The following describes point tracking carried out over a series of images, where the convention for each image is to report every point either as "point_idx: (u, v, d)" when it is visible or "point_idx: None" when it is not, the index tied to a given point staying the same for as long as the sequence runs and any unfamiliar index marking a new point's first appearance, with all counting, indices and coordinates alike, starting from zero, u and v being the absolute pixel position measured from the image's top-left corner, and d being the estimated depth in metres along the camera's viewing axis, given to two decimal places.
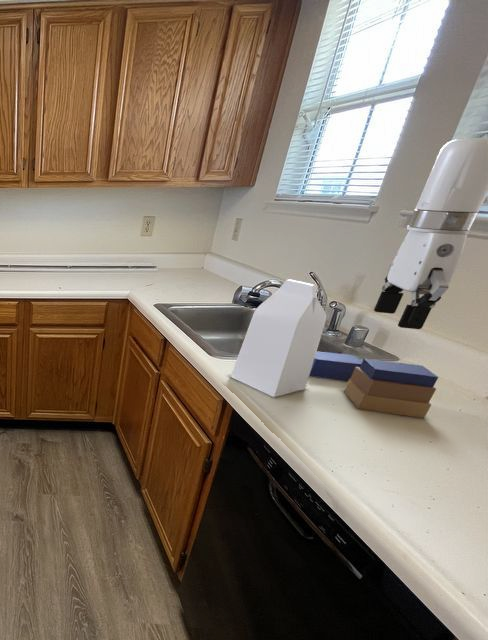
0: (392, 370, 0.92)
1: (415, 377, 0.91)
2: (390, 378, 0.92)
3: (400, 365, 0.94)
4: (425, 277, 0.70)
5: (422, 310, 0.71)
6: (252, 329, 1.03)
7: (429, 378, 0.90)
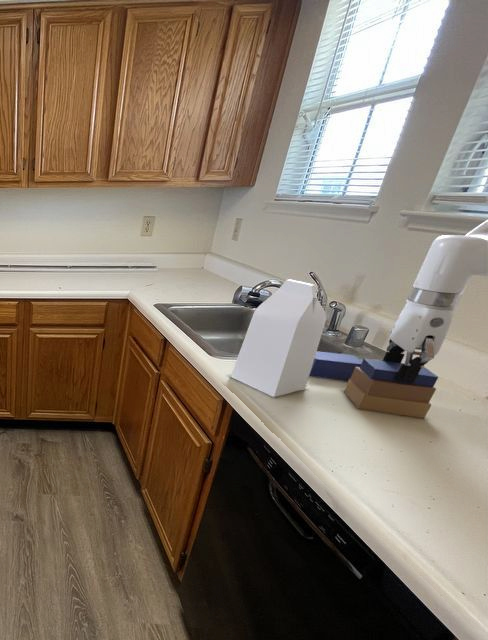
0: (392, 370, 0.92)
1: None
2: (390, 377, 0.92)
3: (400, 365, 0.94)
4: (421, 342, 0.86)
5: (414, 369, 0.89)
6: (252, 329, 1.03)
7: (429, 378, 0.90)
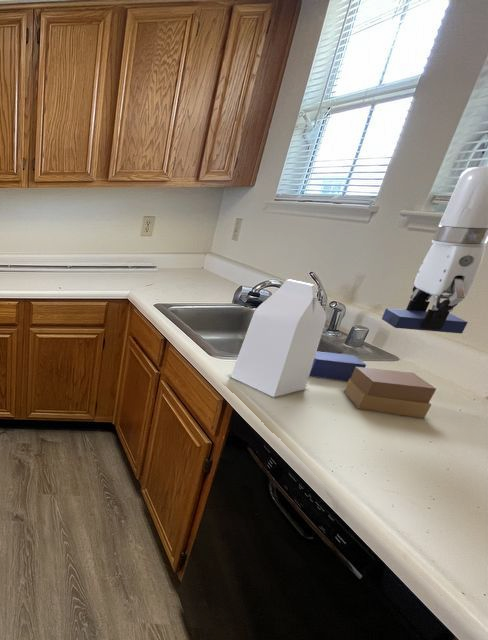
0: (417, 317, 0.87)
1: None
2: (416, 325, 0.87)
3: None
4: (449, 283, 0.81)
5: (441, 314, 0.84)
6: (252, 329, 1.03)
7: (457, 324, 0.85)
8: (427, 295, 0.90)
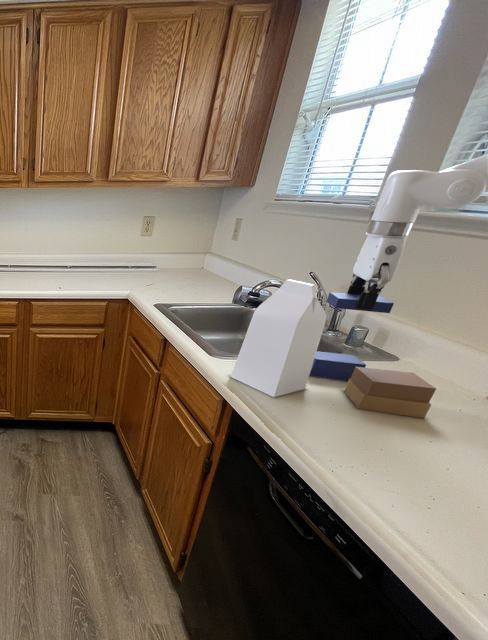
0: (353, 299, 1.01)
1: None
2: (352, 306, 1.02)
3: None
4: (377, 269, 0.96)
5: (372, 296, 0.98)
6: (252, 329, 1.03)
7: (386, 305, 0.99)
8: (364, 281, 1.04)
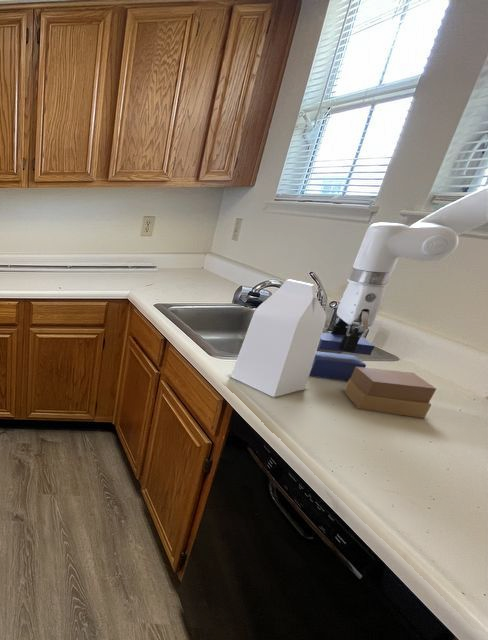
0: (336, 340, 1.06)
1: None
2: (335, 347, 1.06)
3: None
4: (358, 315, 1.00)
5: (353, 339, 1.03)
6: (252, 329, 1.03)
7: (367, 347, 1.04)
8: (347, 322, 1.09)
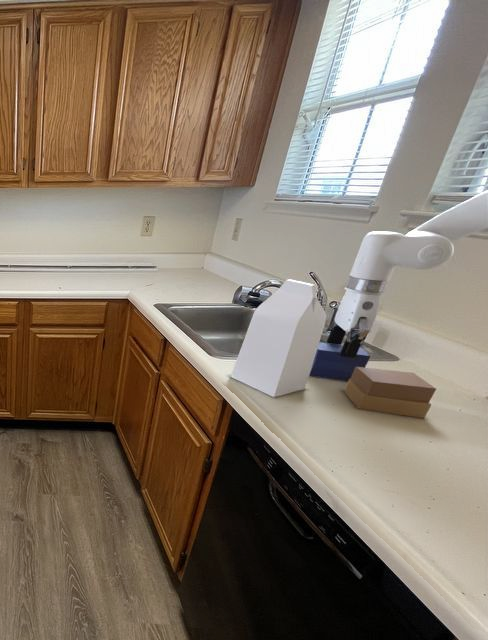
0: (332, 350, 1.07)
1: None
2: (331, 357, 1.08)
3: (341, 346, 1.10)
4: (355, 323, 1.01)
5: (354, 345, 1.03)
6: (252, 329, 1.03)
7: (363, 357, 1.05)
8: None
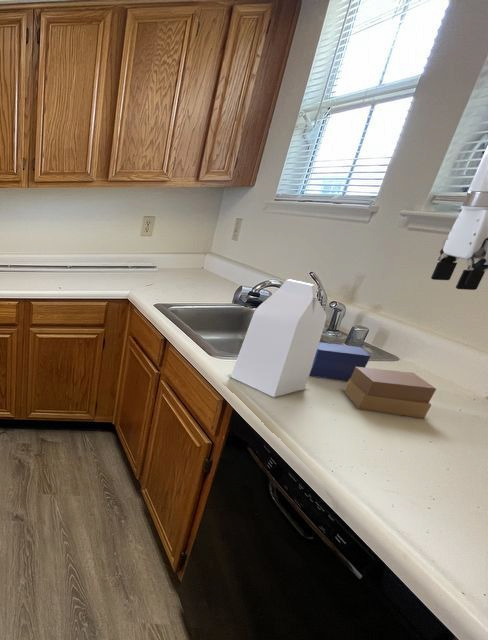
0: (332, 350, 1.07)
1: (351, 356, 1.06)
2: (331, 357, 1.08)
3: (341, 346, 1.10)
4: (479, 246, 0.85)
5: (477, 273, 0.86)
6: (252, 329, 1.03)
7: (363, 357, 1.05)
8: (454, 257, 0.94)
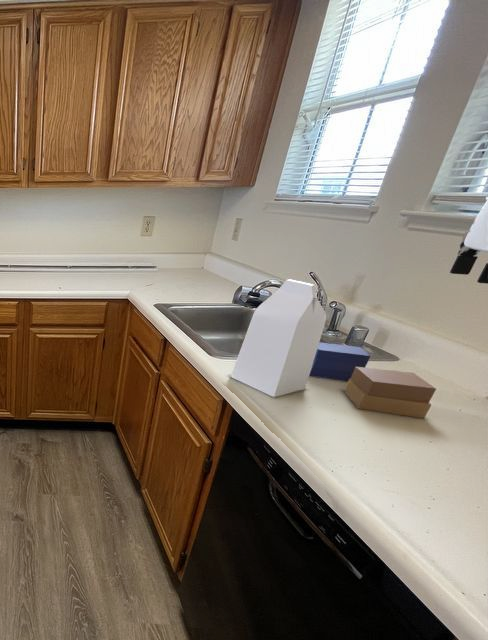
0: (332, 350, 1.07)
1: (351, 356, 1.06)
2: (331, 357, 1.08)
3: (341, 346, 1.10)
4: None
5: None
6: (252, 329, 1.03)
7: (363, 357, 1.05)
8: (475, 251, 0.92)
